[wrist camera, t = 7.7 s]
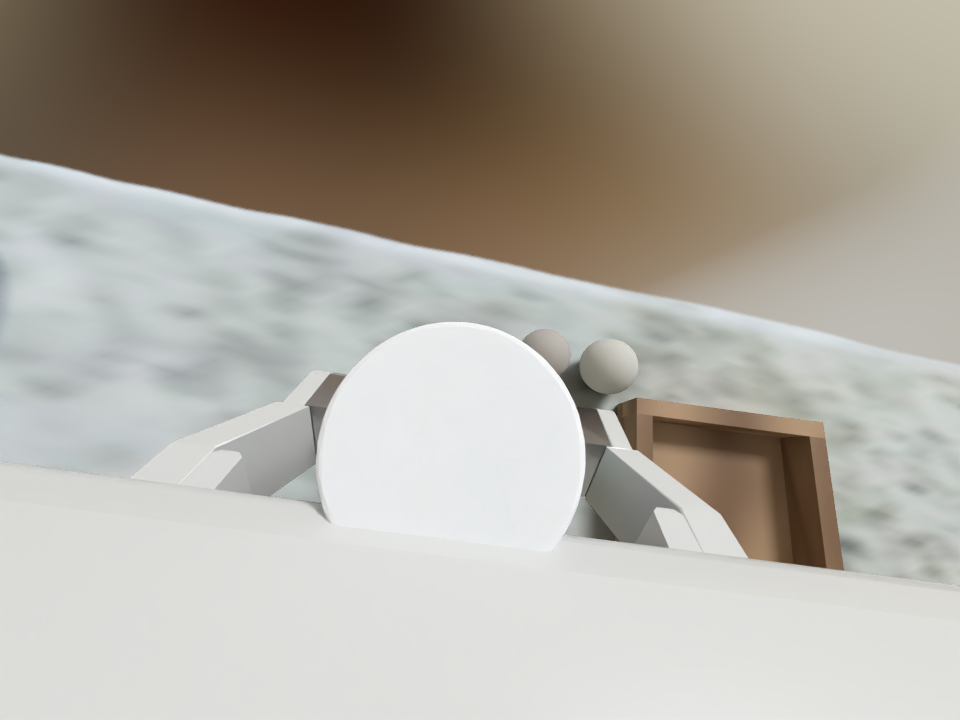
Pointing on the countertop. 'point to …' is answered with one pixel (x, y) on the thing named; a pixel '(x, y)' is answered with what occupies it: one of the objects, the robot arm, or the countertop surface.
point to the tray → (747, 474)
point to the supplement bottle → (453, 441)
